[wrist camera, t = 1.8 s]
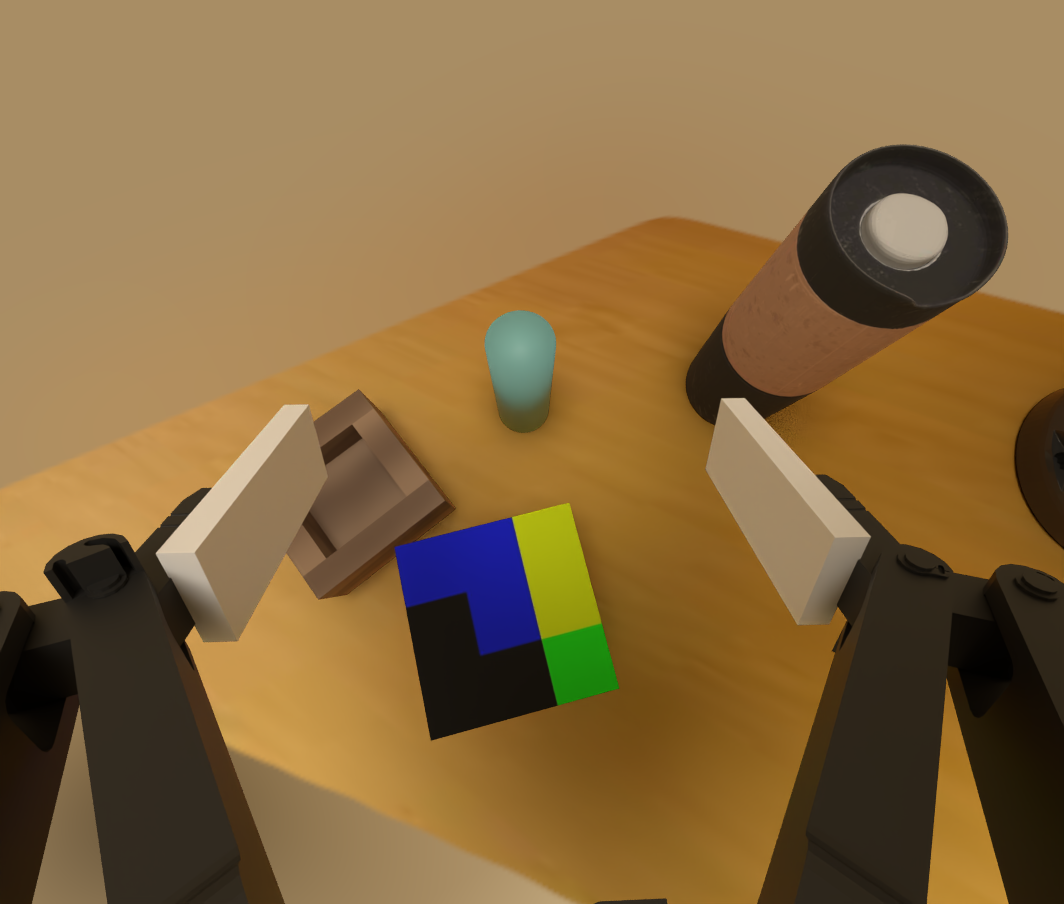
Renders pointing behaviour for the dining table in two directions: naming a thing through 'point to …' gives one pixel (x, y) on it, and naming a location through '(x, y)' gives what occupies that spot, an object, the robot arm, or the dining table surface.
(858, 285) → the travel mug
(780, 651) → the dining table surface
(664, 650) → the dining table surface
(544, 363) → the teal dowel
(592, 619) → the puzzle toy
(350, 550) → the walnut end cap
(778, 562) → the robot arm
